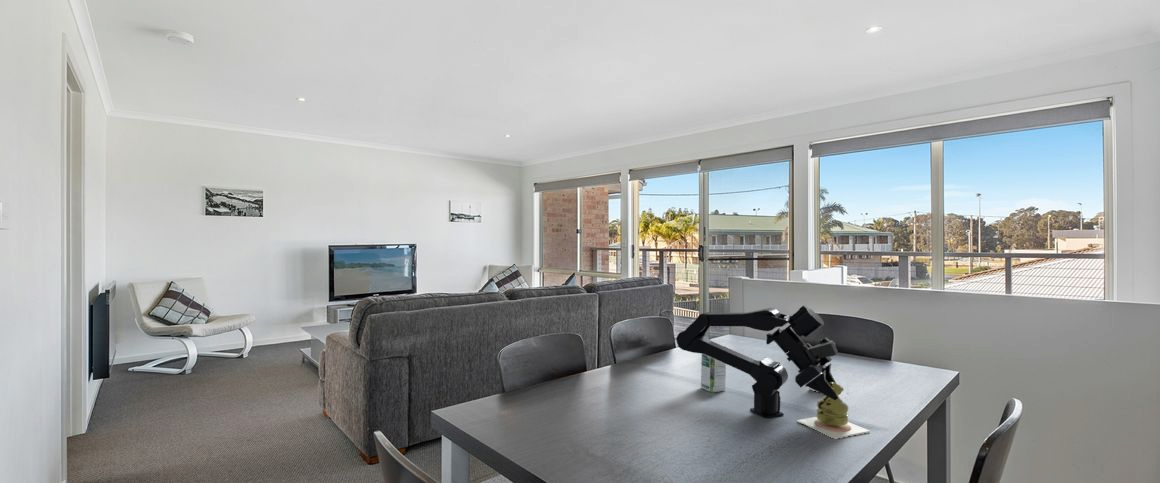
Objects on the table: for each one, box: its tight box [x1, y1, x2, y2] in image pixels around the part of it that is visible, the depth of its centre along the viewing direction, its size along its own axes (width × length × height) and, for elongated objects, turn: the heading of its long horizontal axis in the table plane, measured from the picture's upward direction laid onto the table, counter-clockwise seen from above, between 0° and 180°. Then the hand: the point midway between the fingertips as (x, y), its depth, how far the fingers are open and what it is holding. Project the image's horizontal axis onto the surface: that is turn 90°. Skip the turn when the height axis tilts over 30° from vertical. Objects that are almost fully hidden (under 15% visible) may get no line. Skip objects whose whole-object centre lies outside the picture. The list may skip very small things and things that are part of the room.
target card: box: [796, 416, 871, 440], centre depth 129 cm, size 12×12×1 cm
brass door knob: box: [816, 381, 849, 426], centre depth 129 cm, size 7×7×10 cm
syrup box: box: [700, 344, 727, 393], centre depth 160 cm, size 6×6×14 cm
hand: (838, 396), depth 128 cm, fingers closed on brass door knob, 5 cm apart
